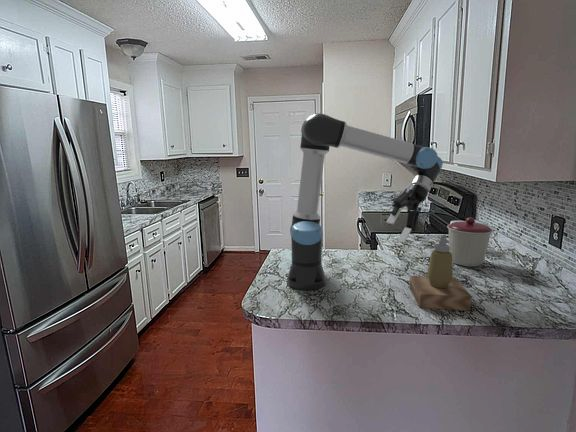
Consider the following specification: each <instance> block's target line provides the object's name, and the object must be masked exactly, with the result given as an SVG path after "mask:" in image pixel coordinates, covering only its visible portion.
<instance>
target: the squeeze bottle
mask: <svg viewBox="0 0 576 432" xmlns="http://www.w3.org/2000/svg"><path fill="white" fill-rule="evenodd" d="M439 238H440V239H439V242H438V243H435V245H434V250H432V251H431V253H430V256H429V257H430V259H429V262H428V263H429V264H428V269H427V272H426V273H427V276H428V278H429V282H430V285H432V286H434V287H437V288H446V287H448V285H449V283H450V281H451V279H452V277H453V262H452V253H451V252H449V251H450V246H449V244H447V239H446V235H445V234H441V236H440V237H439Z"/></svg>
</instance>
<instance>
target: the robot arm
mask: <svg viewBox="0 0 576 432" xmlns="http://www.w3.org/2000/svg"><path fill="white" fill-rule="evenodd" d="M300 133H301V137H300V146H299V147H300V150H301V151H302V153H303V155H302V162H301V163H302V164H301V171H300V182H299V190H298V199H297V209H296V211H295V212H293V214H292V220H291V226H290V231H289V232H290V237H291V238H290V239H291V265H290V267H289V271H288V274H287V278H286V279H287V280H286V281H287V285H288V286H289V287H291V288H292V289H295V290H299V291H315V290H319V289H321V288H323V287H325V286H326V284H327V282H326V281H327V278H326V274H325V270H324V267H323V263H322V259H323V257H322V255H323V254H322V251H323V249H322V248H323V242H322V241H323V229H322V226H321V215H319V212H318V211H319V204H320V203H319V201H320V196H321V195H320V194H321V186H322V178H323V171H324V163H325V157H326V154H328V153H329V152H330V147H332V148H336V149H339V148H341V147H342V148H345V149H346V148H347V149H350V150H354V151H358V152H361V153H364V154H369V155H373V156H377V157H380V158H384V159H388V160H391V161H395V162H398V163H402V164H404V165H406V166H407V167H409V168H410V169H411V170H413V172H415V173H416V174H415V176H414V178H413V179H412V181H411V184H410V185H409V187H408V188H405V189H404V190H403V192H402V193H401V194H399V195H398V196H397V197H395V199H393V200H392V201H393V202H392V205H391V207H393V208H392V210H391V212H390V214H389V215H388V218H387V220H386V224H390V225H394V224H395V222H396V221H397V219H398V217H399V215H400V213H401V211H402V208H405V207H406V208H407V210H406V211H407V220H406V226H404V229H403V230H402V232H401V234H400V235H399V238H398V239H397V241H398V243H399V242H400V243H403V244H405V243H406V241H407V240H408V238H409V235H410V234H411V232H415V231H416V229H417V224H418V220H419V218H420V217H419V216H420V213H421V211H422V208H421V207H419V205H420V203H423V202H424V201H425V200H426V199H427V197H428V194H429V193H430V191H431V189H432V187H434V183H435V181H436V179H437V178H438V176H439V175H440V173H441V170H442V168H443V164H444V163H443V162H444V161H443V159H442V158H441V157H439V156H438V153H437V151H436V150H435V149H434V148H432V147H429V146H422V145H418V144H413V143H412V142H409V141H408V140H407V141H406V140H405V141H404V140H400V139H398V138H394V137H391V136H387V135H383V134H379V133H376V132H372V131H369V130H364V129H361V128H359V127H354V126H351V125H348V124H347V122H346V121H343V120H340V119H337V118H334V117H332V116H330V115H328V114H326V113H325V114H324V113H321V112H320V113H314V114H312V115H310V116H308V117H307V118H306V119H305V120H304V121H303V123H302V124H301V130H300Z"/></svg>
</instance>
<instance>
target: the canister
mask: <svg viewBox="0 0 576 432" xmlns="http://www.w3.org/2000/svg"><path fill="white" fill-rule="evenodd" d="M465 221H466V222H454V223H451V222H450V223H451V224H450V223H449V224H447V226H446V227H447V229H448V246H450V251H449V252H451V253H452V263H454V264H456V265H459V266H461V267H462V266H463V267H471V268H472V267H480V266H482V264H483V263H484V260H485V259H486V255H487V250H488V247H489V242H490V239H491V234H492V233H493V232H494V230H493V228H492V227H490V226H488V225H487V224H484V223H480V222H476V220H475V218H474V217H467V218H466V219H465Z"/></svg>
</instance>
